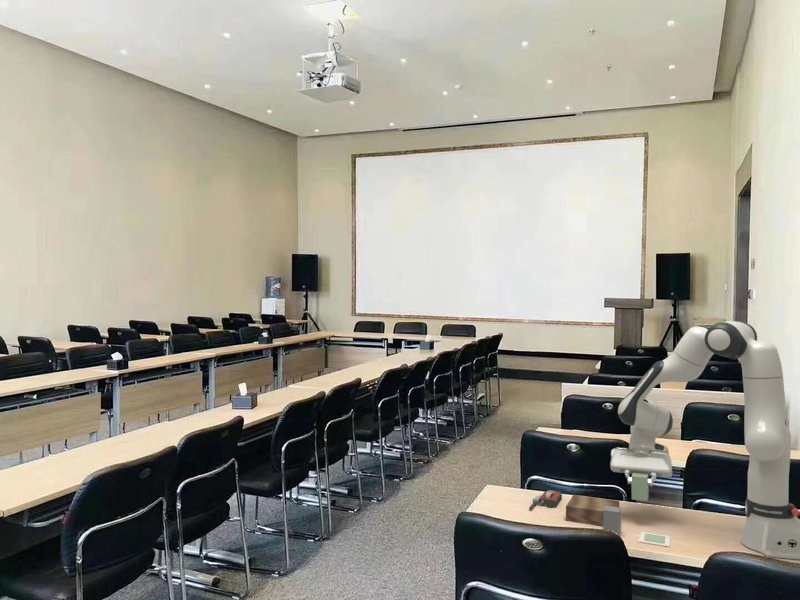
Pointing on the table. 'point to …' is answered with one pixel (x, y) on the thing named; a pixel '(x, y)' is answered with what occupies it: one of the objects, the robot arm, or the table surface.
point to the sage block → (639, 486)
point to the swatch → (654, 539)
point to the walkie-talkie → (547, 499)
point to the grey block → (612, 519)
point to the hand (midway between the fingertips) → (639, 484)
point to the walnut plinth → (587, 509)
